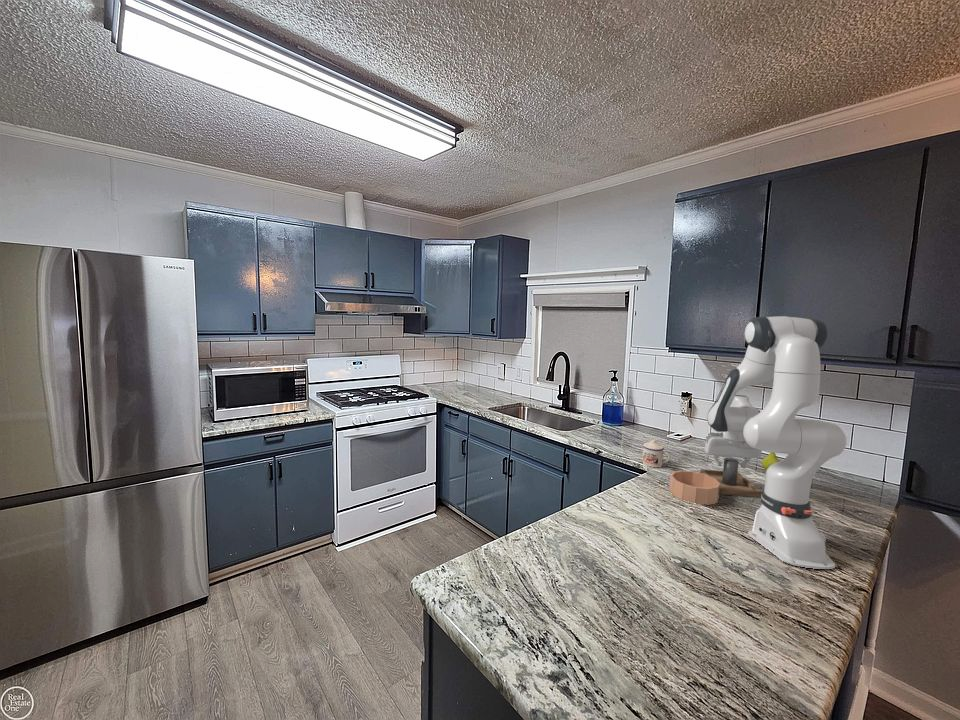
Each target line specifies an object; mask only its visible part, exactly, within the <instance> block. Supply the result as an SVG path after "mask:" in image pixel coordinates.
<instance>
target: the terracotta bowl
mask: <svg viewBox="0 0 960 720" xmlns="http://www.w3.org/2000/svg"><path fill="white" fill-rule="evenodd" d="M668 486H669V489H668V492H669V491H670V492H671V493H672V494H671V493H670V492H669V493H670V494H671V496H672V495H674V496H676V497H678V498H680V499H682V500H685V501H689V502H692V503H696V504H707V505H709V504H714V503H717V504H718V502H719V500H718V499H720V495H719V491H720V483H719V482H718V481H717V480H716V479H715V478H713V477H710V476H708V475H706V474H702V473H700V472H696V471H691V470H677V471H676V470H675V471H673V472H672V473H671V474H670V475H669V485H668ZM674 496H673V497H674ZM714 505H715V504H714Z"/></svg>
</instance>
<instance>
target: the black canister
mask: <svg viewBox="0 0 960 720" xmlns="http://www.w3.org/2000/svg"><path fill="white" fill-rule="evenodd" d="M722 471H723V478H722V483H723V484H725V485H729V486H736V483H737V473H739V472H738V471H739V460H737V459H736V458H733V457H724V458H723V468H722Z"/></svg>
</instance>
